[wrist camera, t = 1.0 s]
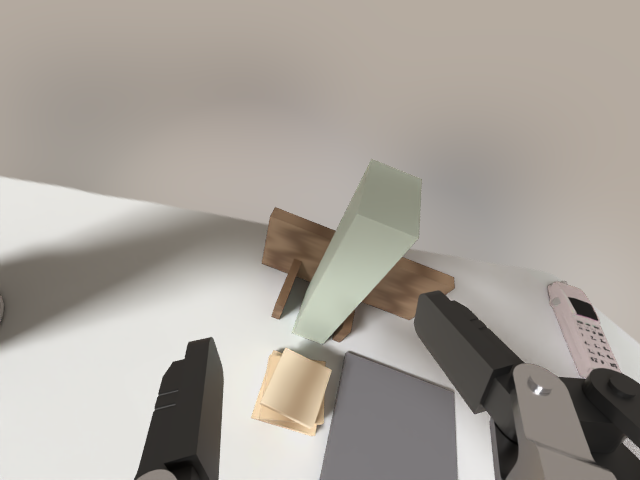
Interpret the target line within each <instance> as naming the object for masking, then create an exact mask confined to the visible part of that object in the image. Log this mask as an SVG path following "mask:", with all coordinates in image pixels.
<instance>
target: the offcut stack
mask: <svg viewBox="0 0 640 480" xmlns="http://www.w3.org/2000/svg"><path fill="white" fill-rule="evenodd" d="M331 371H332V370H331V369H329V368H328V367H326V362H325V361H317V360H310V359H308V358H306V357H304V356H302V355H300V354H298V353H296V352H294V351H292V350H290V349H288V348H285V350H284V351H283V353H281V352H278V351H274V350H273V352H272V355H270V356H269V358H268V365H267V370H266V374H265V377H264V380H263V383H262V386H261V389H260V392H259V395H258V398H257V401H256V404H255V407H254V410H253V413H252V416H251V418H253V419H256V420H260V421H263V422H266V423H270V424H273V425H276V426H280V427H283V428H286V429H289V430H293V431H296V432H299V433H303V434H306V435H309V436H315V433H316V428H317V425H321V424H323V422H324V394H325V390H326V387H327V384H328V381H329V378H330V374H331Z"/></svg>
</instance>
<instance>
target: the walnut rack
mask: <svg viewBox="0 0 640 480" xmlns="http://www.w3.org/2000/svg"><path fill="white" fill-rule="evenodd" d="M335 232H336V231H335V230H332V229H329V228H327V227H324V226H322V225H319V224H317V223H314V222H312V221H309V220H307V219H304V218H302V217H299V216H296V215H294V214H291V213H289V212H286V211H284V210H281V209H279V208H274V210H273V212H272V214H271V216H270V220H269V226H268V231H267V237H266V242H265V248H264V253H263V259H262V264H264V265H267V266H270V267H272V268H275V269H277V270H280V271H283V272H285V273H288V275H287V277H286V280H285V282H284V285H283V287H282V290H281V292H280V294H279V297H278V299H277V302H276V304H275V307H274V310H273V313H272V316H271V317H274V318H276V319H279V318H280V316H281V313H282V311H283V308H284V306H285V303H286V301H287V298H288V295H289V293H290V290H291V288H292V285H293V283H294V280H295V277H298V278H301V279H303V280H306V281H309V282H311V280H312V278H313V276H314V274H315V272H316V270H317V268H318V266H319V264H320V262H321V260H322V258H323V256H324V254H325V252H326V250H327V248H328V246H329V244H330V242H331V240H332V238H333V236H334V234H335ZM454 288H455V285H454V277H452V276H449V275H447V274H444V273H442V272H439V271H437V270H434V269H432V268H429V267H426V266H424V265H421V264H419V263H416V262H414V261H411V260H409V259H406V258H403V257H402V258H401V259H400V260H399V261H398V262H397V263H396V264H395V265H394V266H393V267H392V269H391V270H390V271H389V272H388V273H387V274H386V275H385V276H384V277H383V278H382V280H381V281H380V282H379V283H378V284H377V285H376V286H375V287H374V288H373V290H372V291H371V292H370V293H369V294H368V295H367V296H366V297H365V298H364V299H363V301H362V302H363V303H366V304H369V305H371V306H374V307H376V308H379V309H382V310H384V311H387V312H389V313H392V314H395V315H397V316H400V317H402V318H405V319H408V320H410V319H412V318H413V317H415V314H416V308H417V303H418V297H419V295H420V294H423V293H427V292H432V291H437V290H439V291H441V292H442V293H444V294H445V295H446V294H447V293H449V292H450V291H452V290H453V289H454ZM354 313H355V309H354V310H353V312H352V313H351V314H350V315H349V316H348V317H347V318H346V319H345V320H344V321H343V323H342V324H341V325H340V326H339V327H338V328H337V329H336V330H335V331H334V334H333V338H332V340H334V341H337V342H341V341H342V340H343V339H344V338H345V337H346V336H347V335H348V334H349V333H350V332H351V328H352V323H353V318H354Z"/></svg>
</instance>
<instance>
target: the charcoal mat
mask: <svg viewBox="0 0 640 480" xmlns="http://www.w3.org/2000/svg"><path fill="white" fill-rule="evenodd" d="M320 480H458V478H457V454H456V431H455V407H454V392H452V391H450V390H447V389H444V388H442V387H439V386H436V385H434V384H431V383H428V382H426V381H423V380H420V379H418V378H415V377H412V376H410V375H407V374H404V373H402V372H399V371H396V370H394V369H391V368H389V367H386V366H383V365H381V364H378V363H375V362H373V361H370V360H367V359H365V358H362V357H359V356H357V355H354V354H351V353H349V352H346V353H345V358H344V363H343V368H342V373H341V377H340V382H339V387H338V392H337V397H336V402H335V407H334V412H333V417H332V421H331V426H330V431H329V436H328V441H327V446H326V451H325V456H324V460H323V465H322V470H321V475H320Z"/></svg>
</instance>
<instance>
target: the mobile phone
mask: <svg viewBox="0 0 640 480" xmlns="http://www.w3.org/2000/svg"><path fill="white" fill-rule="evenodd" d="M548 292H549V297H550V301H549V304H550V306H551V307H553V310H554V312H555V315H556V317H557V320H558V323H559V325H560V328H561V330H562V333H563V335H564V338H565V340H566V343H567V345H568V348H569V350H570V353H571V355H572V358H573V360H574V363H575V365H576V368H577V370H578V373H579V375H580V376H581V377H584V378H587V376H588V375H589V374H590V372H591V371H592V370H593V369H596V368H606V369H611V370H614V371H617V372H620V373H621V371H620V369H619V366H618V364H617V362H616V360H615V357H614V355H613V353H612V351H611V349H610V346H609V344H608V342H607V340H606V337H605V335H604V333H603V331H602V328H601V326H600V320H599V318H598V316H597V314H596V312H595V310H594V308H593V306H592V304H591V303H590V301H589V300H588V298H587V296H586V295H585V294H584V292H583V291H582V290H581V289H579V288H576V287H573V286H570V285H568V284H567V282H566V281H562V282H558V281H556V282H554V283H553V284H550V285H549V286H548Z"/></svg>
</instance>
